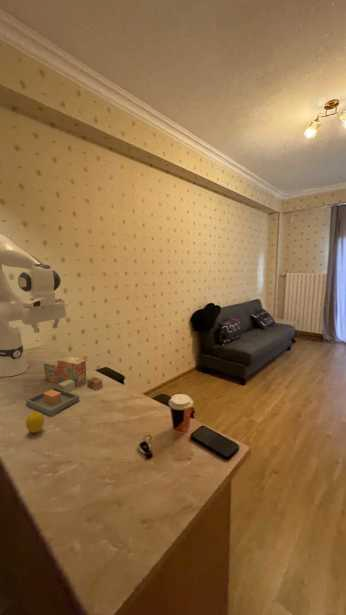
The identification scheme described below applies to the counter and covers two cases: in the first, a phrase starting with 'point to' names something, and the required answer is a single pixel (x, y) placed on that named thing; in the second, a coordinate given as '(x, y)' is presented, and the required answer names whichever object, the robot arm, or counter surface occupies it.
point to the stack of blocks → (66, 370)
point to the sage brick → (67, 385)
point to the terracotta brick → (52, 397)
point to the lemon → (35, 422)
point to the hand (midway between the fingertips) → (46, 330)
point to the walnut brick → (94, 383)
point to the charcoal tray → (51, 410)
